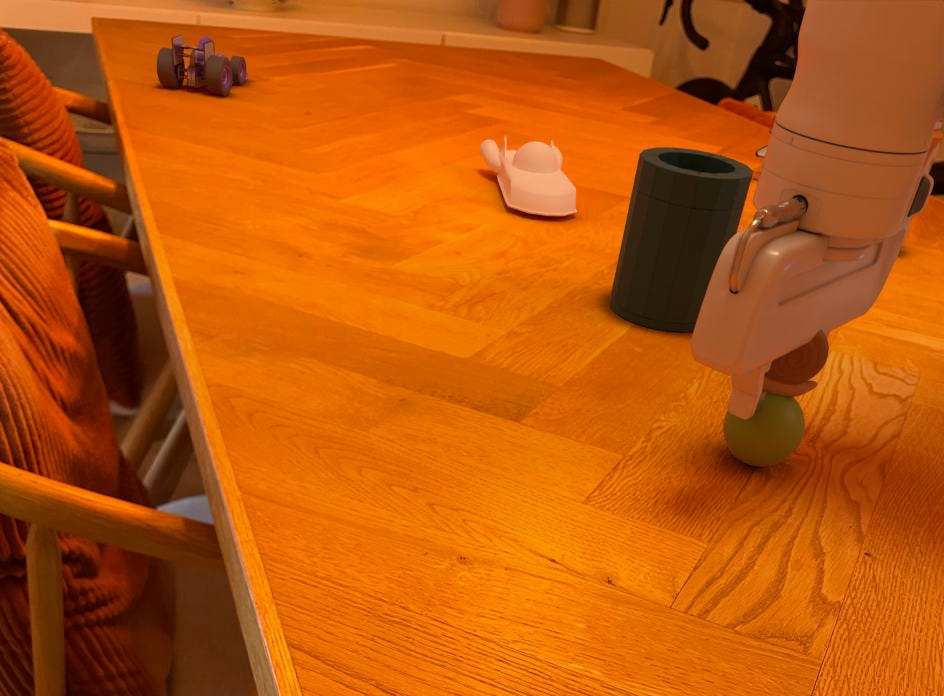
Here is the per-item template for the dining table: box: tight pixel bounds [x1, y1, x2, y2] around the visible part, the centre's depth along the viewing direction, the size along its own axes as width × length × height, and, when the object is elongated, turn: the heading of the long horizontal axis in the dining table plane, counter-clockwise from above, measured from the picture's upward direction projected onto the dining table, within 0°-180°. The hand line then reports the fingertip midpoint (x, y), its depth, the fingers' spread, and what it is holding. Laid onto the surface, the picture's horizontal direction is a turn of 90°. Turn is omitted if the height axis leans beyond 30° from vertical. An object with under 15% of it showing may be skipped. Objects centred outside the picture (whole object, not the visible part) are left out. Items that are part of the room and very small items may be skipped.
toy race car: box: [156, 34, 249, 97], centre depth 144 cm, size 10×15×6 cm, turn 170°
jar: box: [609, 146, 754, 333], centre depth 88 cm, size 10×10×13 cm
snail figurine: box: [722, 330, 830, 468], centre depth 67 cm, size 5×6×12 cm
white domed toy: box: [479, 135, 578, 217], centre depth 117 cm, size 10×20×6 cm, turn 6°
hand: (764, 401), depth 68 cm, fingers open, 5 cm apart
